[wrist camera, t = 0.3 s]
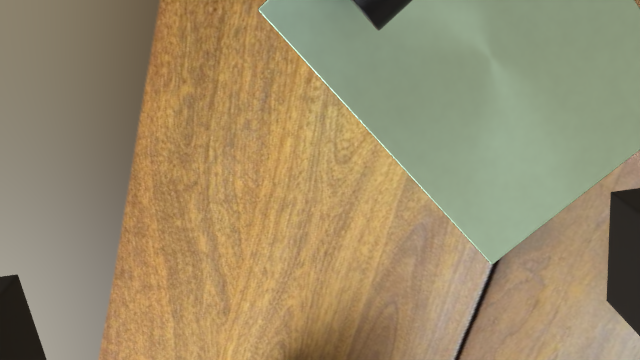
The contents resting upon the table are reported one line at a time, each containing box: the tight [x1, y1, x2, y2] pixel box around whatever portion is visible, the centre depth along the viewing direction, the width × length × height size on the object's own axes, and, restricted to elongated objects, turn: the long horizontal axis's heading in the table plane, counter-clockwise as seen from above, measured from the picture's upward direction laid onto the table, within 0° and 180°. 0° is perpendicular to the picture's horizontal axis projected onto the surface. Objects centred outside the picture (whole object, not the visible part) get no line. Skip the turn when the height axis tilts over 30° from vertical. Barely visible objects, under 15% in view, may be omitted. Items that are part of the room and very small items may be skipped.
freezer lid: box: [258, 0, 640, 264], centre depth 27 cm, size 19×14×8 cm
